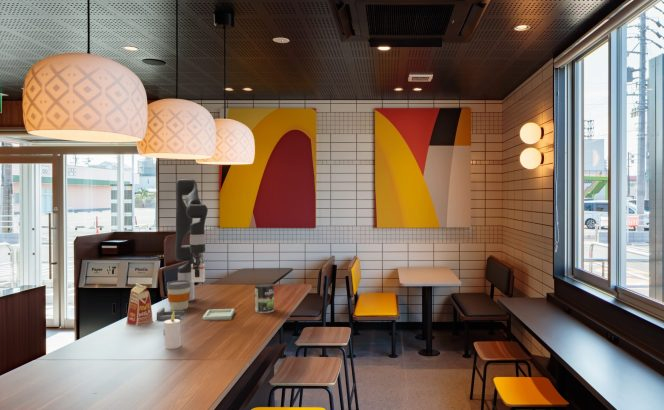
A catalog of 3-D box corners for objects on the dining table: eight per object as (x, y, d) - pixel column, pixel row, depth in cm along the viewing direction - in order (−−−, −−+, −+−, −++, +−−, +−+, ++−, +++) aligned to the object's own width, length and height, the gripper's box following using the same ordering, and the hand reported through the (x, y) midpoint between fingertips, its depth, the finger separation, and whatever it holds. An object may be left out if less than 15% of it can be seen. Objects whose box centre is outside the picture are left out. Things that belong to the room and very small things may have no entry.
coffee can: (278, 310, 233) (277, 284, 233) (264, 314, 225) (263, 287, 225) (265, 307, 240) (264, 282, 239) (251, 311, 231) (250, 285, 231)
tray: (207, 313, 229) (207, 309, 229) (234, 312, 230) (234, 308, 230) (202, 321, 215) (202, 317, 215) (230, 319, 216) (230, 315, 216)
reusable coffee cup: (194, 306, 244) (194, 280, 244) (185, 312, 232) (184, 284, 232) (173, 306, 246) (173, 280, 245) (162, 311, 233) (162, 284, 233)
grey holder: (161, 316, 225) (161, 307, 225) (187, 315, 226) (186, 306, 226) (155, 322, 214) (154, 312, 214) (181, 321, 215) (181, 311, 215)
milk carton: (126, 325, 210) (125, 284, 209) (142, 320, 218) (141, 281, 218) (138, 327, 206) (137, 285, 205) (154, 322, 214) (153, 282, 213)
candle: (164, 344, 180) (163, 309, 180) (180, 342, 182) (179, 307, 182) (163, 349, 174) (163, 313, 174) (180, 347, 177) (180, 311, 176)
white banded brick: (193, 280, 222) (192, 263, 222) (205, 280, 223) (204, 263, 223) (191, 282, 218) (190, 264, 218) (203, 281, 219) (203, 264, 219)
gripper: (193, 242, 227) (194, 274, 227) (186, 244, 213) (187, 279, 213) (207, 241, 228) (208, 273, 228) (201, 244, 214) (202, 278, 214)
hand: (198, 276), depth 221 cm, fingers closed on white banded brick, 4 cm apart
